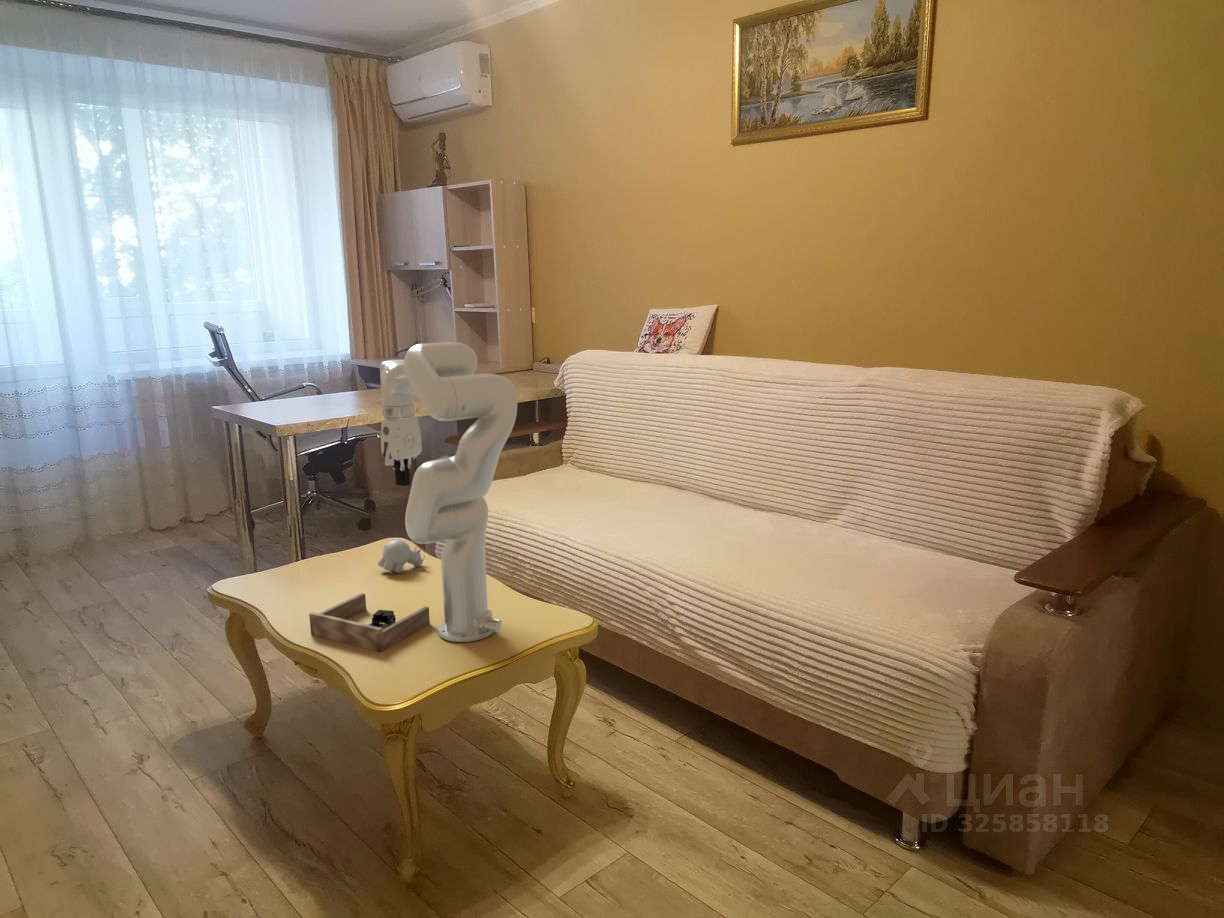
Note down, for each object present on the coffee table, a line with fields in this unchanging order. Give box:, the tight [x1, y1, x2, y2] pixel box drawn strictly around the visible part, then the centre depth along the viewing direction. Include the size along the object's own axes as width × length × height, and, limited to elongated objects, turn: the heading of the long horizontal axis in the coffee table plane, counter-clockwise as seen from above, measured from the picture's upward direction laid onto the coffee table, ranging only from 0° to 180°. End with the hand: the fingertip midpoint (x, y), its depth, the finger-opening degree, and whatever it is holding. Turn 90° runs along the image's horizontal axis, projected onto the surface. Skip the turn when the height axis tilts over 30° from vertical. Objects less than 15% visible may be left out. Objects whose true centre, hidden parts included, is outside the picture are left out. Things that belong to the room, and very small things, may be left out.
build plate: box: [368, 609, 397, 630], centre depth 180 cm, size 12×7×5 cm, turn 78°
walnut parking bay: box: [308, 592, 431, 653], centre depth 179 cm, size 20×16×5 cm
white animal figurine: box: [377, 538, 426, 574], centre depth 217 cm, size 7×12×8 cm, turn 124°
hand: (403, 484), depth 198 cm, fingers closed
